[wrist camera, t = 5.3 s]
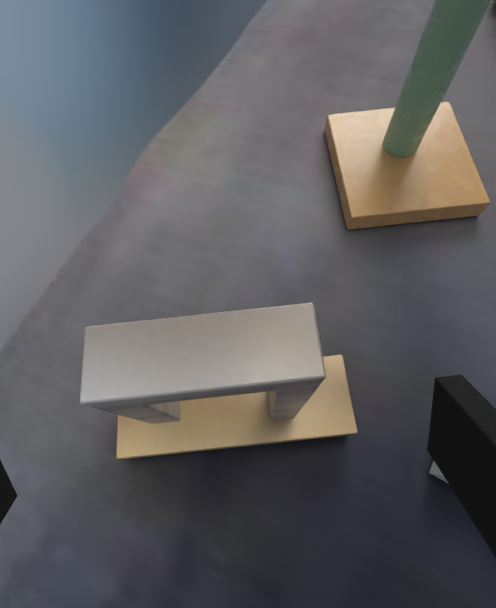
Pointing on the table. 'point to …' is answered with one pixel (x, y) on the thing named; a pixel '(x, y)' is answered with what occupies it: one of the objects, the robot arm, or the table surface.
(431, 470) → the crossbow
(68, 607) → the table surface
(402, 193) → the hanger stand
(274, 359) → the grey arch on wood
